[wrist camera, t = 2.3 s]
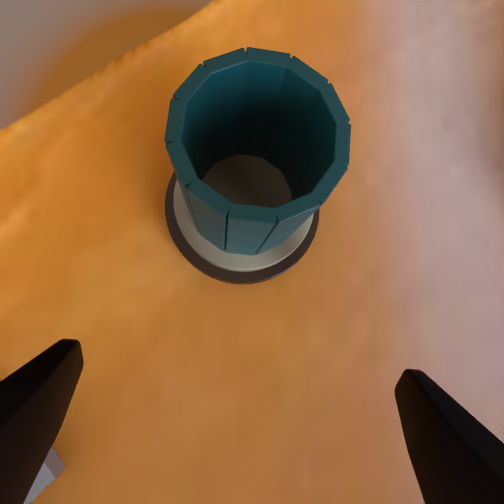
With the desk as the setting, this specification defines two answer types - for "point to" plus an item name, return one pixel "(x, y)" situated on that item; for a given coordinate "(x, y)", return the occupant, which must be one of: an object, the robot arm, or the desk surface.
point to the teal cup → (256, 142)
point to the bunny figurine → (46, 475)
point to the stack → (243, 192)
